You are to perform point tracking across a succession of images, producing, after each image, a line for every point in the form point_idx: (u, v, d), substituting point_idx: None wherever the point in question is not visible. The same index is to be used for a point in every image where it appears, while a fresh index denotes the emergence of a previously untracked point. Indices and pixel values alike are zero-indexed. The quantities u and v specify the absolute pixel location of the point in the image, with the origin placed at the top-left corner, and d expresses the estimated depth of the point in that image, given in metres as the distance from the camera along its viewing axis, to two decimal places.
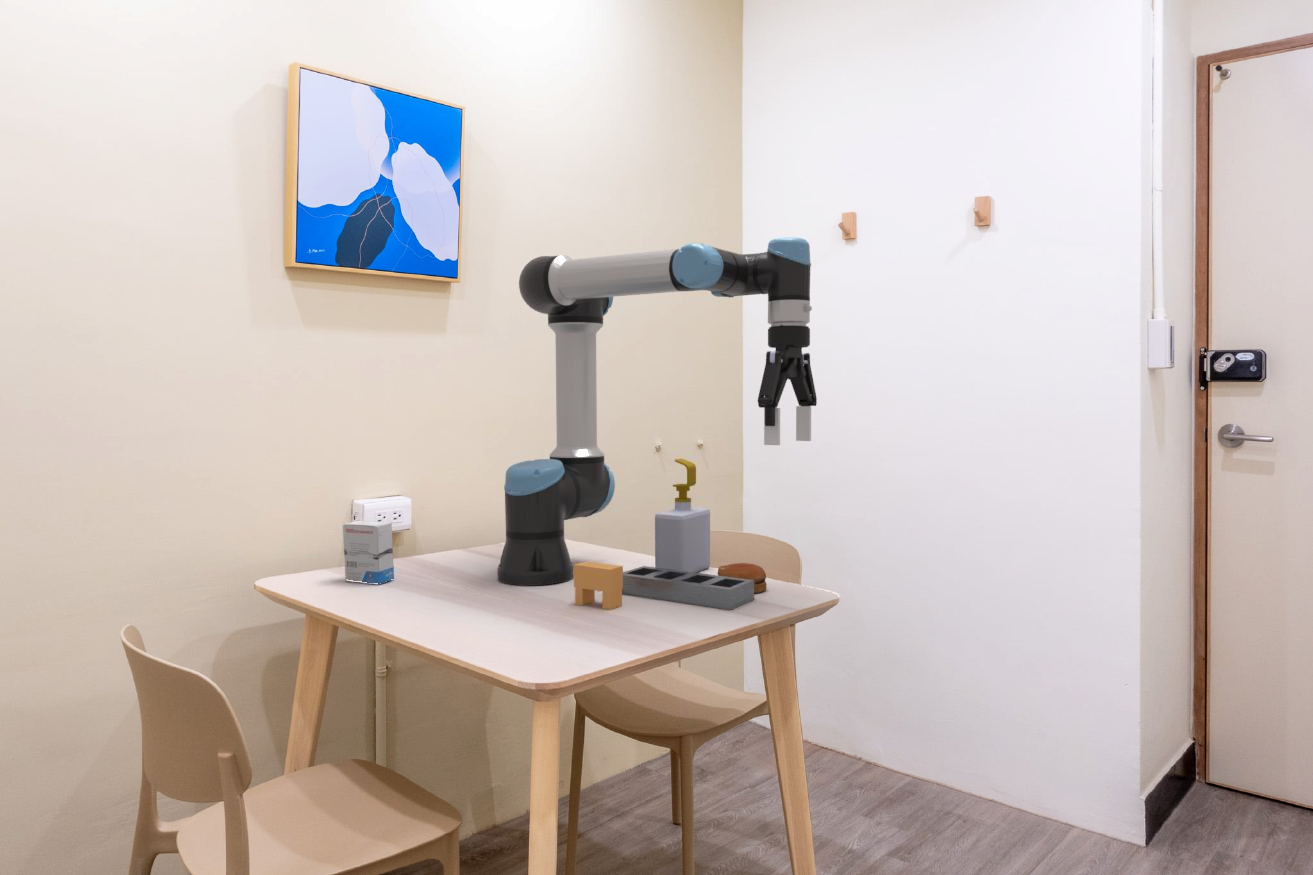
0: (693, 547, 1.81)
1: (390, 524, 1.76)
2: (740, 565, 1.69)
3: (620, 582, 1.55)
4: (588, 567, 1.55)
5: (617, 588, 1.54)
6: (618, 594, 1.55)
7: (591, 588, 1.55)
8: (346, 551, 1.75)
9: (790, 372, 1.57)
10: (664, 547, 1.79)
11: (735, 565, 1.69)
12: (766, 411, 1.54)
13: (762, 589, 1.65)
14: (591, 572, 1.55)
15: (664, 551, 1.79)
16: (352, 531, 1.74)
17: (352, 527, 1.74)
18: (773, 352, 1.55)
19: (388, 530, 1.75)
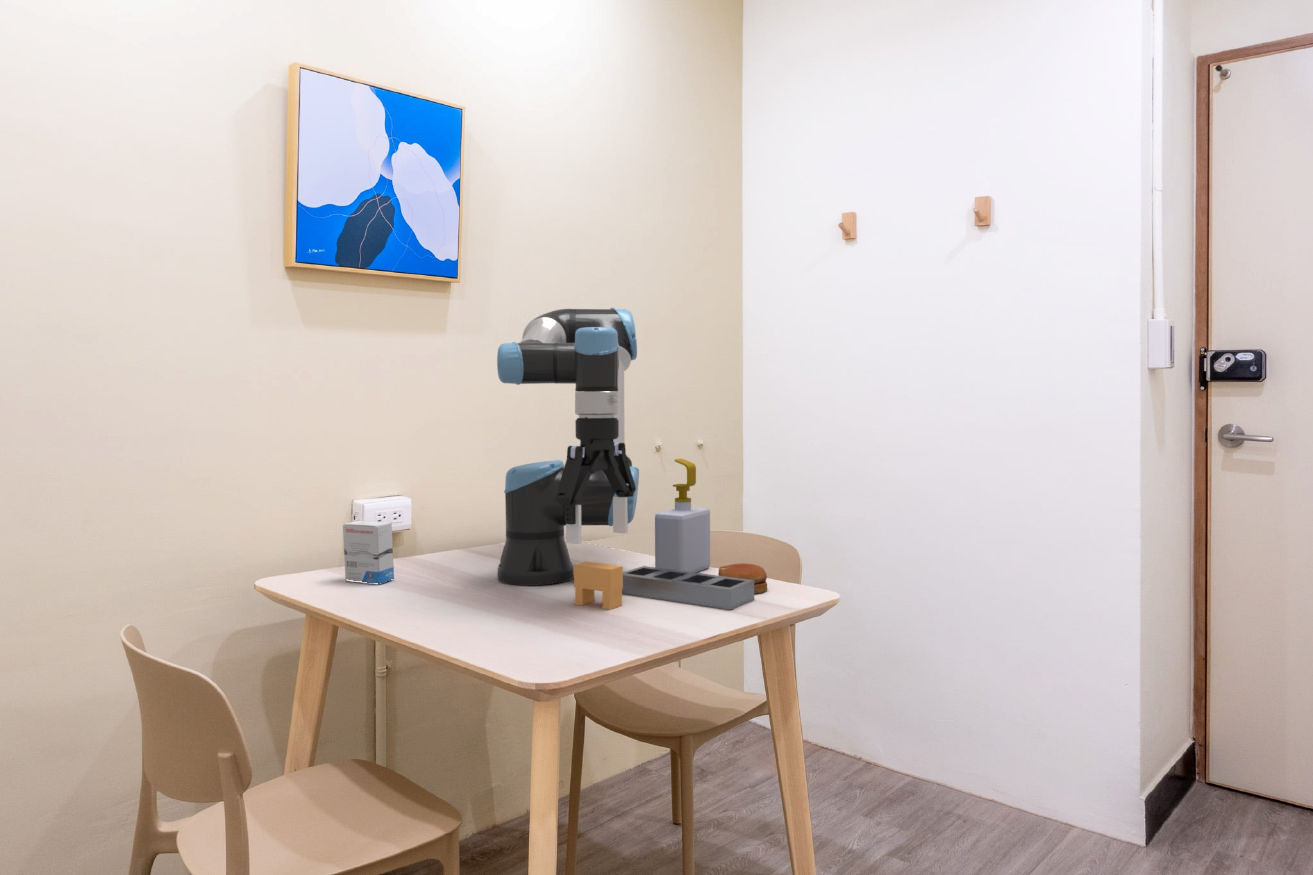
0: (693, 547, 1.81)
1: (390, 524, 1.76)
2: (741, 565, 1.69)
3: (620, 582, 1.55)
4: (588, 567, 1.55)
5: (617, 588, 1.54)
6: (618, 594, 1.55)
7: (591, 588, 1.55)
8: (346, 551, 1.75)
9: (594, 466, 1.51)
10: (664, 547, 1.79)
11: (736, 565, 1.69)
12: (566, 509, 1.48)
13: (763, 589, 1.65)
14: (591, 572, 1.55)
15: (664, 551, 1.79)
16: (352, 531, 1.74)
17: (352, 527, 1.74)
18: (574, 447, 1.49)
19: (388, 530, 1.75)
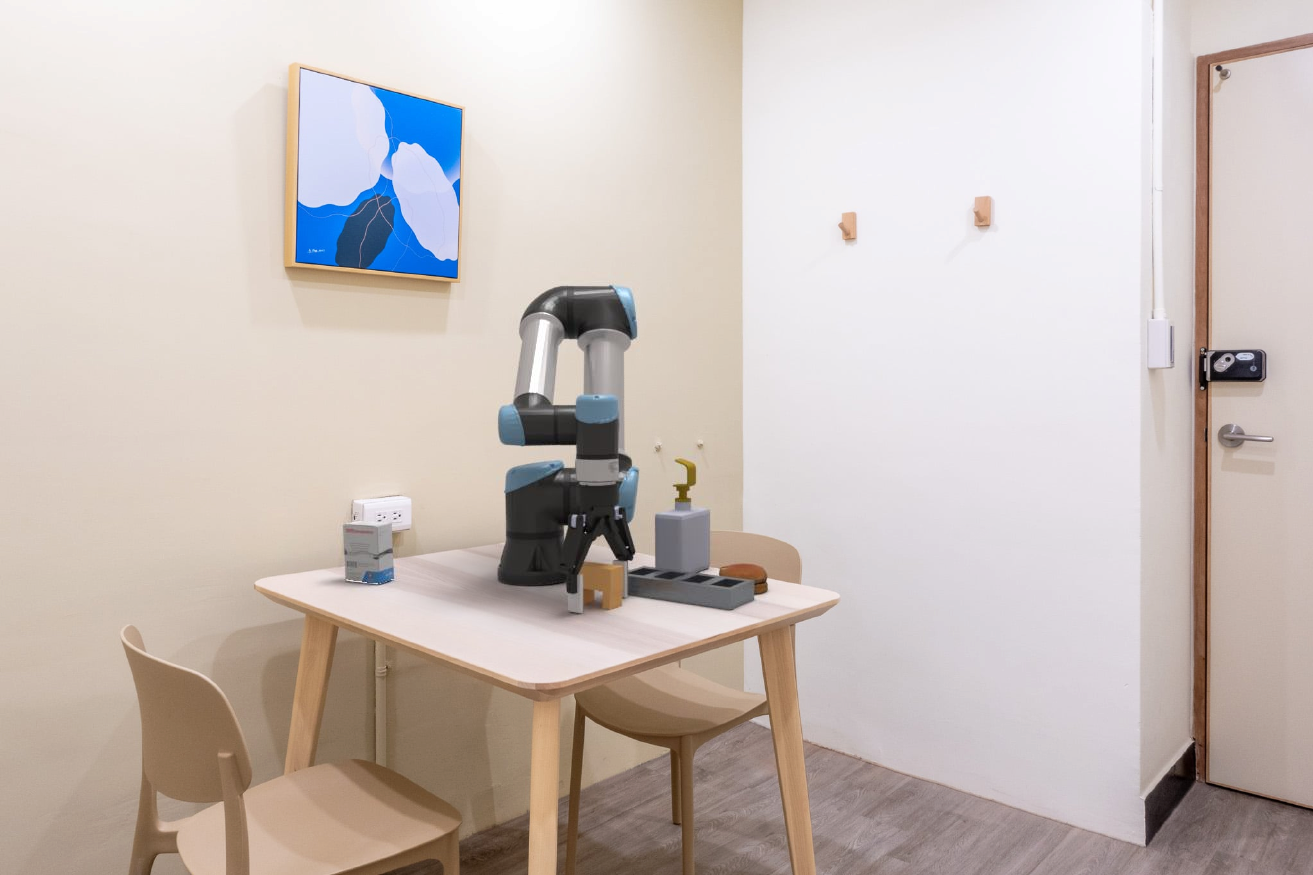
0: (693, 547, 1.81)
1: (390, 524, 1.76)
2: (741, 565, 1.68)
3: (620, 582, 1.55)
4: (588, 567, 1.55)
5: (617, 588, 1.54)
6: (618, 594, 1.55)
7: (591, 588, 1.55)
8: (346, 551, 1.75)
9: (595, 534, 1.52)
10: (664, 547, 1.79)
11: (736, 565, 1.69)
12: (567, 578, 1.49)
13: (763, 590, 1.65)
14: (591, 572, 1.55)
15: (664, 551, 1.79)
16: (352, 531, 1.74)
17: (353, 527, 1.74)
18: (574, 516, 1.50)
19: (388, 530, 1.75)
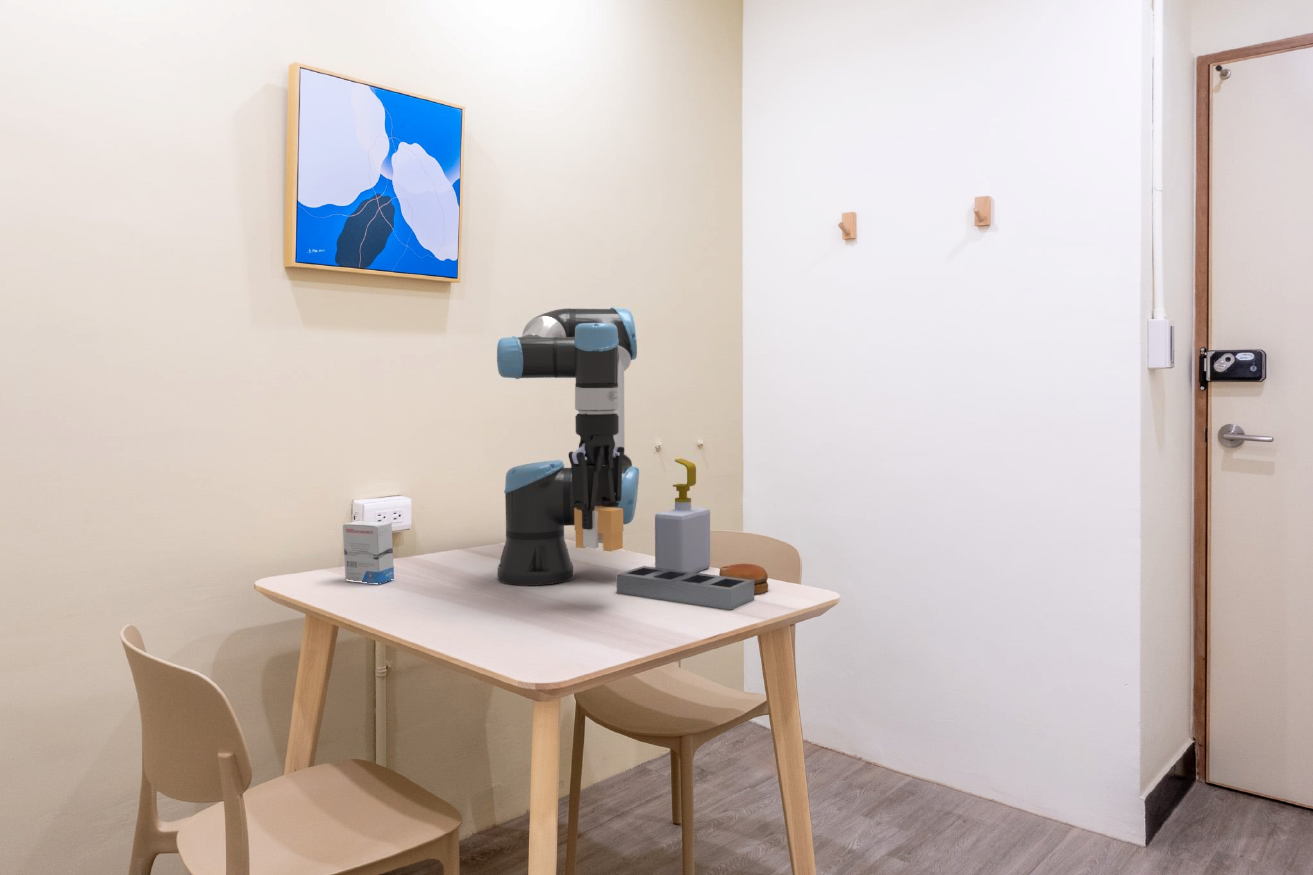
0: (693, 547, 1.81)
1: (390, 524, 1.76)
2: (742, 566, 1.68)
3: (620, 524, 1.55)
4: None
5: (618, 530, 1.54)
6: (619, 536, 1.55)
7: None
8: (346, 551, 1.75)
9: (599, 465, 1.53)
10: (664, 547, 1.79)
11: (737, 566, 1.69)
12: (583, 514, 1.53)
13: (764, 590, 1.64)
14: None
15: (664, 551, 1.79)
16: (352, 531, 1.74)
17: (352, 527, 1.74)
18: (574, 454, 1.50)
19: (388, 530, 1.75)
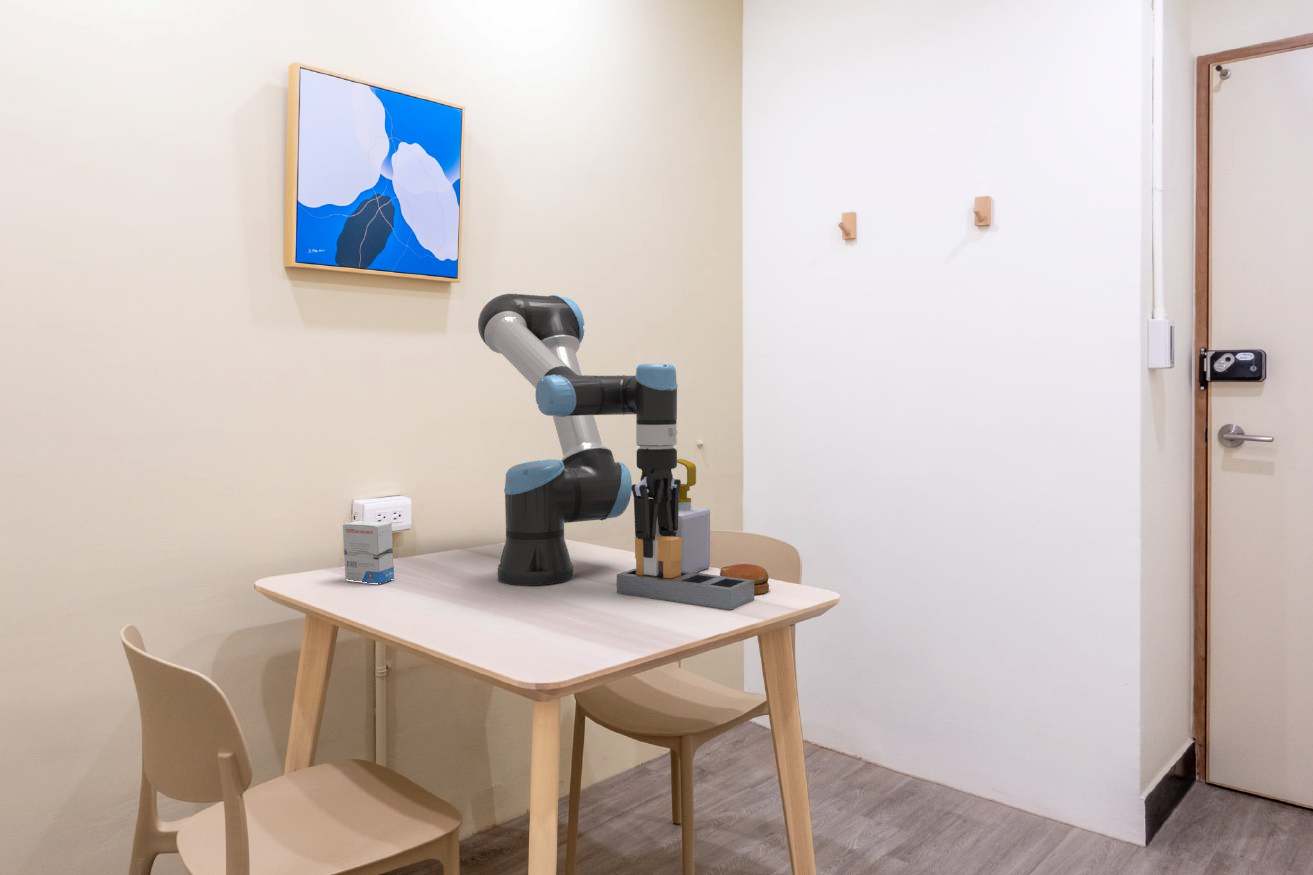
0: (693, 547, 1.81)
1: (390, 524, 1.76)
2: (742, 566, 1.68)
3: (679, 553, 1.64)
4: None
5: (677, 558, 1.63)
6: (677, 564, 1.64)
7: None
8: (346, 551, 1.75)
9: (659, 497, 1.62)
10: None
11: (737, 566, 1.68)
12: (644, 543, 1.62)
13: (765, 590, 1.64)
14: None
15: None
16: (352, 531, 1.74)
17: (353, 527, 1.74)
18: (637, 487, 1.59)
19: (388, 530, 1.75)
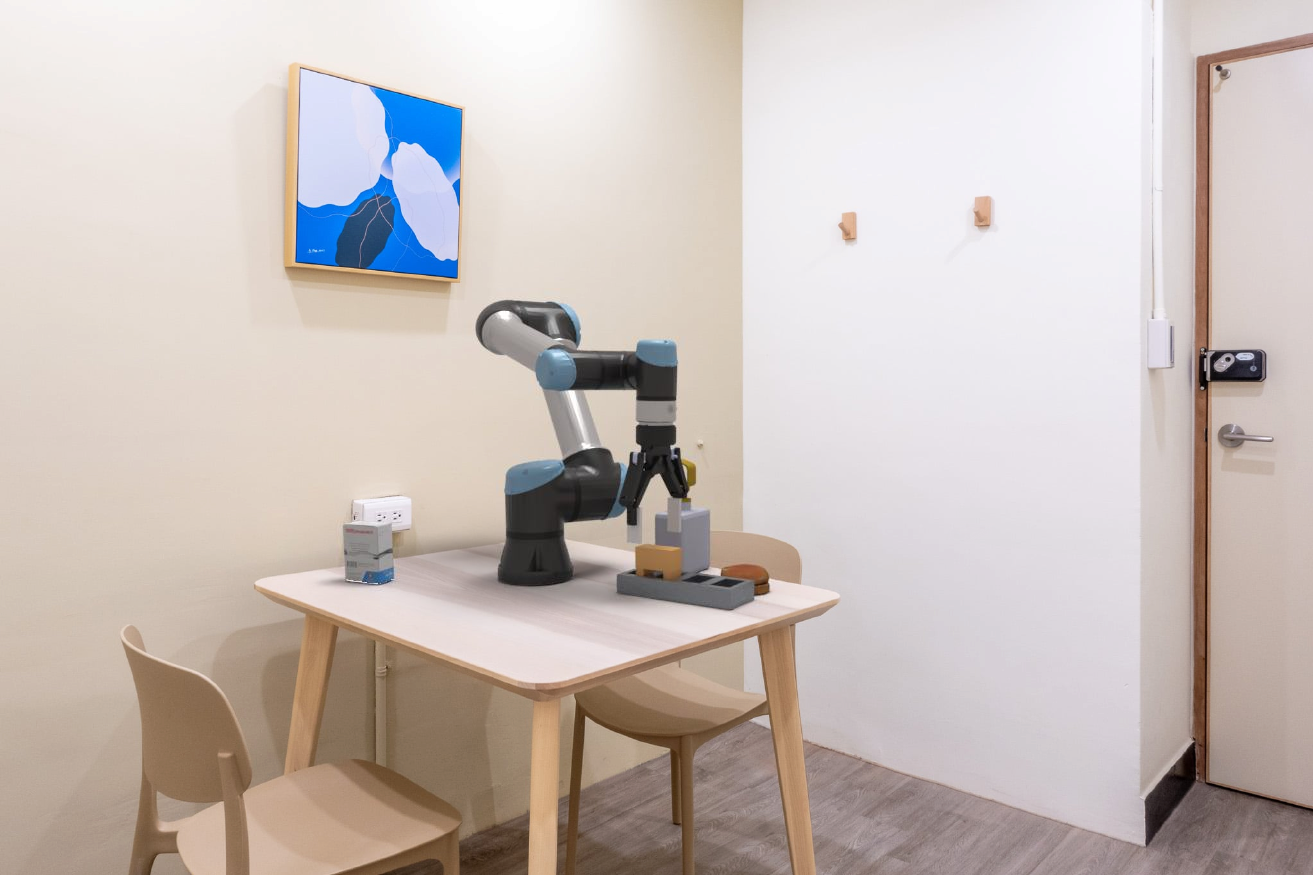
0: (693, 547, 1.81)
1: (390, 524, 1.76)
2: (743, 566, 1.68)
3: (679, 563, 1.64)
4: (649, 549, 1.64)
5: (677, 568, 1.63)
6: (678, 574, 1.64)
7: (652, 568, 1.64)
8: (346, 551, 1.75)
9: (654, 471, 1.61)
10: None
11: (738, 566, 1.68)
12: (628, 511, 1.59)
13: (765, 590, 1.64)
14: (652, 554, 1.64)
15: None
16: (352, 531, 1.74)
17: (353, 527, 1.74)
18: (636, 453, 1.59)
19: (388, 530, 1.75)
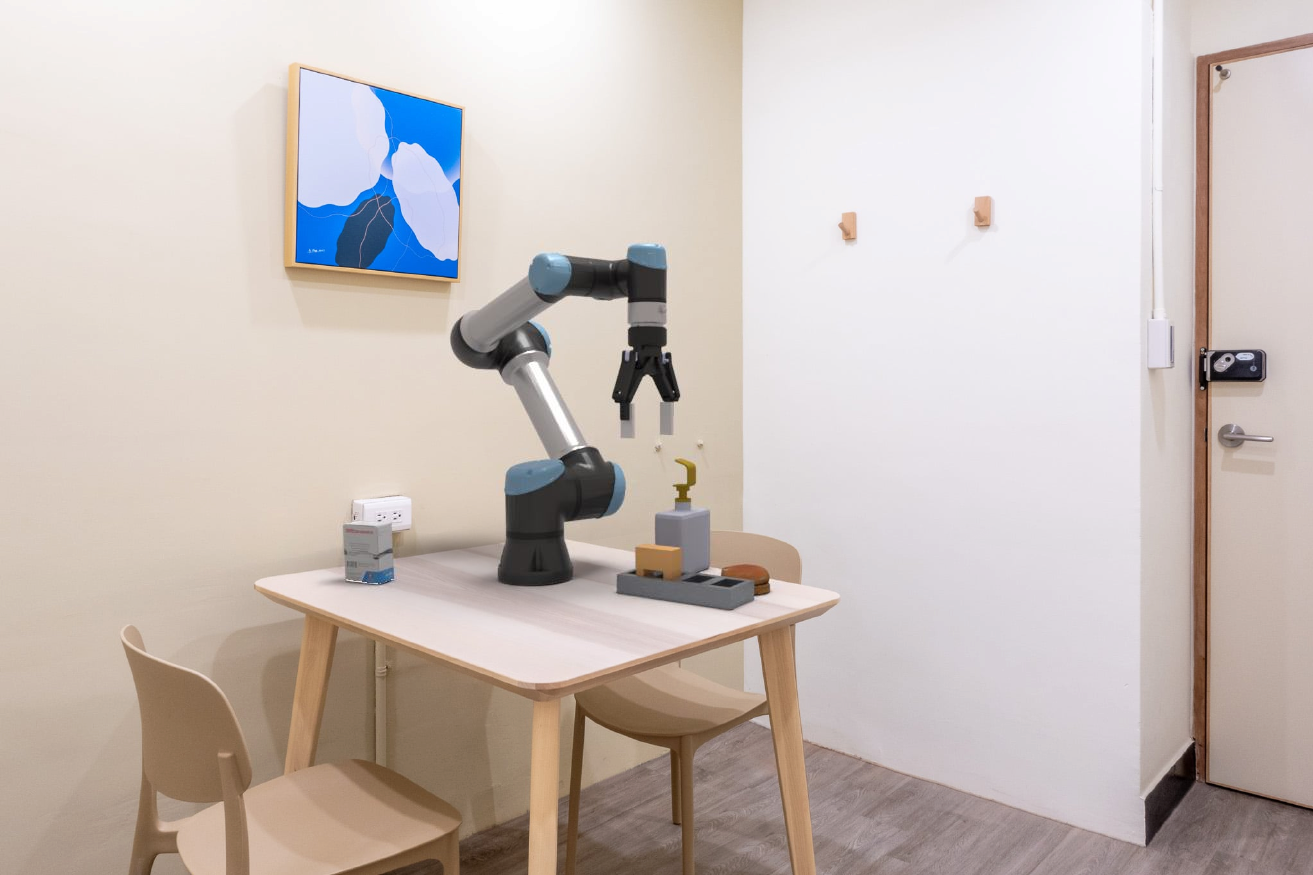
0: (693, 547, 1.81)
1: (390, 524, 1.76)
2: (743, 566, 1.68)
3: (679, 563, 1.64)
4: (649, 549, 1.64)
5: (677, 568, 1.63)
6: (678, 574, 1.64)
7: (652, 568, 1.64)
8: (346, 551, 1.75)
9: (646, 370, 1.68)
10: None
11: (738, 566, 1.68)
12: (621, 406, 1.65)
13: (766, 590, 1.64)
14: (652, 554, 1.64)
15: None
16: (352, 531, 1.74)
17: (352, 527, 1.74)
18: (628, 351, 1.65)
19: (388, 530, 1.75)
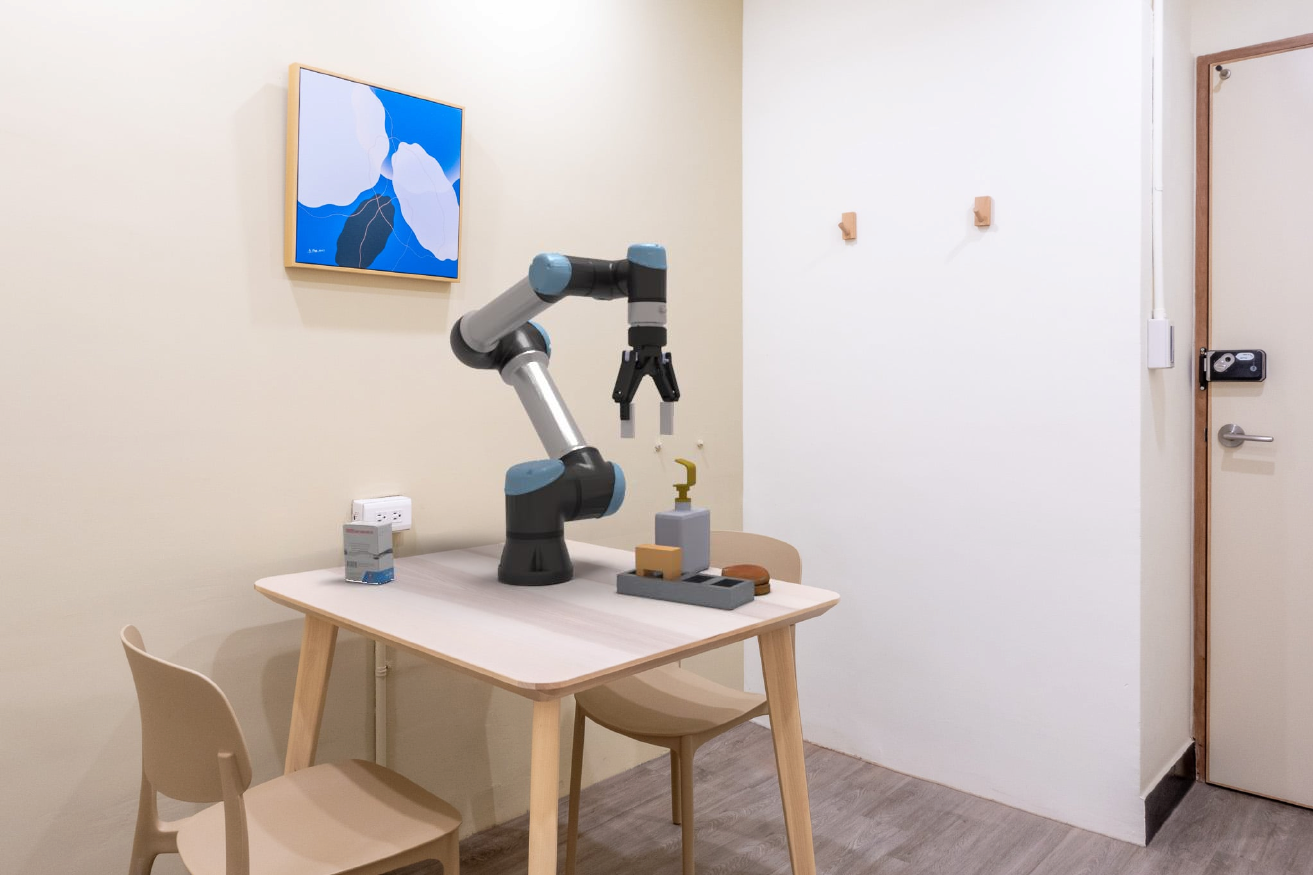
0: (693, 547, 1.81)
1: (390, 524, 1.76)
2: (744, 566, 1.68)
3: (679, 563, 1.64)
4: (649, 549, 1.64)
5: (677, 568, 1.63)
6: (678, 574, 1.64)
7: (652, 568, 1.64)
8: (346, 551, 1.75)
9: (646, 370, 1.68)
10: None
11: (739, 566, 1.68)
12: (621, 406, 1.65)
13: (766, 591, 1.64)
14: (652, 554, 1.64)
15: None
16: (352, 531, 1.74)
17: (353, 527, 1.74)
18: (628, 351, 1.65)
19: (388, 530, 1.75)
